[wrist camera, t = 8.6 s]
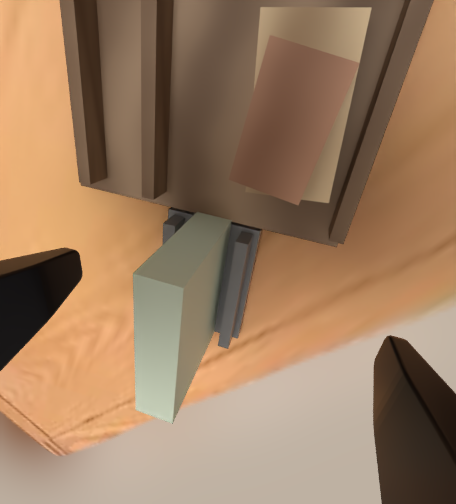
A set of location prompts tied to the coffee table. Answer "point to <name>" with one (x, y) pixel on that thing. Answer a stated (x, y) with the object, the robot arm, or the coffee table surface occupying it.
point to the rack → (214, 104)
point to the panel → (177, 312)
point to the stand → (227, 272)
